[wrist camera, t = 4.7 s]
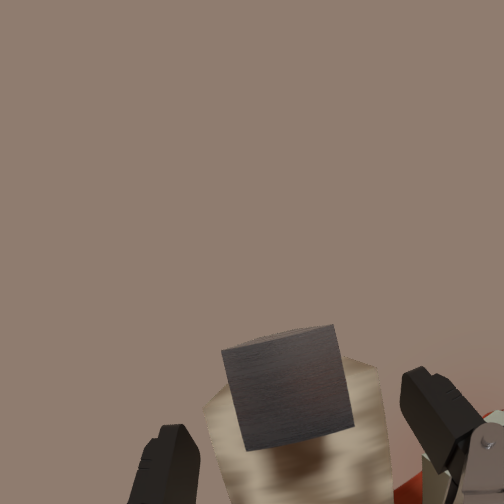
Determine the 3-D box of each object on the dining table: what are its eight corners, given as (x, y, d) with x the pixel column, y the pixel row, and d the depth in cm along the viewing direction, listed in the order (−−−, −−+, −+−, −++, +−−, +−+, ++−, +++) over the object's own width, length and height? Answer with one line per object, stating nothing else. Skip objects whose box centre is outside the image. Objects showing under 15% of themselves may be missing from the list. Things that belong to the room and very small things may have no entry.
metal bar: (246, 451, 9) (220, 350, 10) (267, 372, 30) (259, 337, 31) (354, 426, 8) (333, 324, 10) (303, 363, 30) (295, 329, 31)
